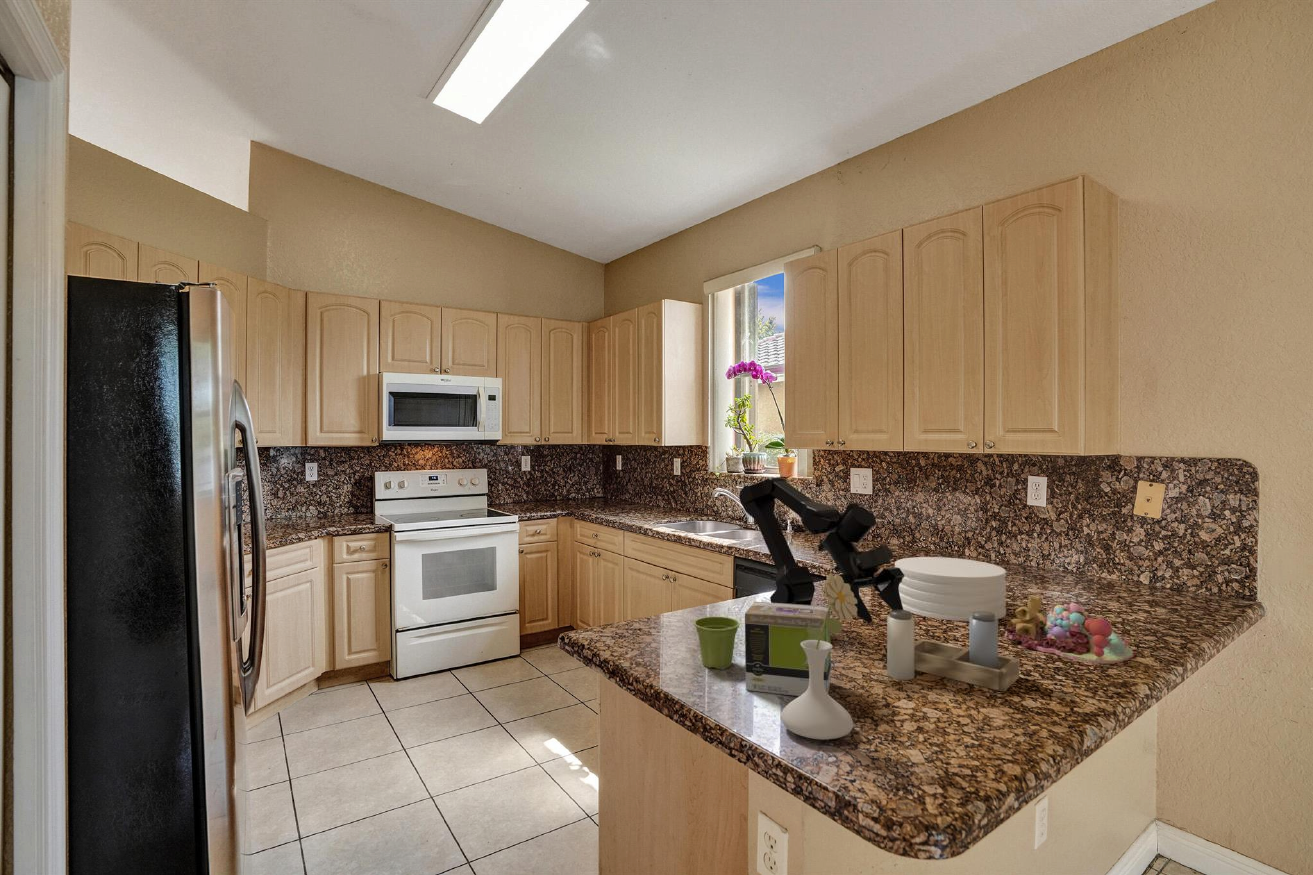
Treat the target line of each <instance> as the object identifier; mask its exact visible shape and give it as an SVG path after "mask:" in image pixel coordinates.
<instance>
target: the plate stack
mask: <svg viewBox="0 0 1313 875" xmlns="http://www.w3.org/2000/svg"><path fill="white" fill-rule="evenodd" d="M894 567H897V568H900V570H901V571H902V572H903V574H904V575H905V577H904V578H903V579H902V582H901V583H900V584H899V594H900V599H901V602H902V606H903V610H906V611H910V612H911V613H912V614H915V615H918V616H922V617H927V618H933V619H937V620H946V621H955V622H957V621H958V622H969V617H970V616H972V612H974V611H984V612H990V613H993V614H995V619H997V620H999V619H1002V618H1004V617H1005V616H1006V615H1007V608H1006V605H1007V599H1006V596H1007V590H1006V587H1007V579H1006V577H1007V570H1006V569H1005V568H1003V567H1001V566H999V565H996V564H993V563H988V562H983V561H978V560H973V559H966V558H956V557H955V558H954V557H945V556H943V557H942V556H940V557H939V556H919V557H915V556H914V557H906V558H901V559H897V560H896V561H894Z"/></svg>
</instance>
